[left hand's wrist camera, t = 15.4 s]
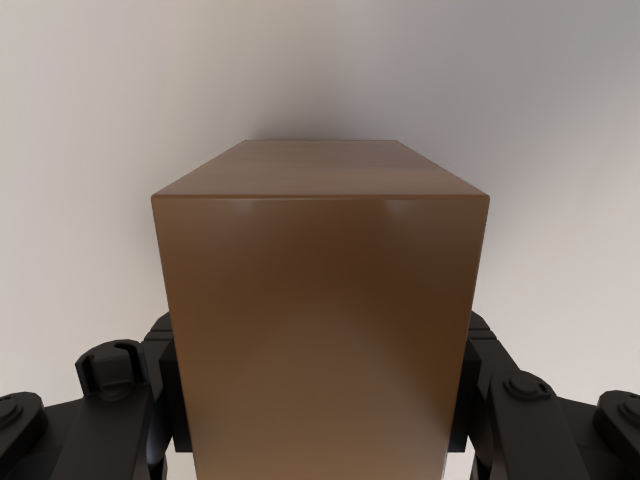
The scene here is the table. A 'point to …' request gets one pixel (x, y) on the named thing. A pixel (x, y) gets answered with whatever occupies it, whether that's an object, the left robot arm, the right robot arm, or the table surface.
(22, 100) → the table surface
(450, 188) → the bar
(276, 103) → the table surface
